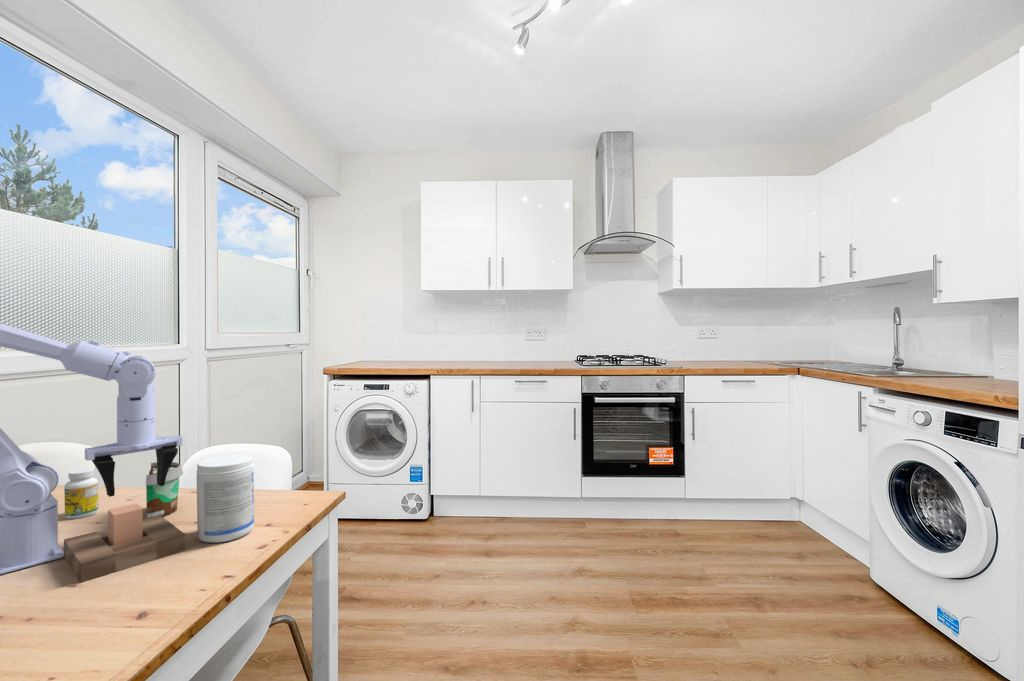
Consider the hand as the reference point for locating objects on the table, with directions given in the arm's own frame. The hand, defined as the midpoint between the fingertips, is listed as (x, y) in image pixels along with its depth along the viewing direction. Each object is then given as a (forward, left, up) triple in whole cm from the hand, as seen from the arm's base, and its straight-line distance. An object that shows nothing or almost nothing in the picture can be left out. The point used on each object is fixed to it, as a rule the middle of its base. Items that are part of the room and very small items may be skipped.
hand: (136, 489), depth 88 cm
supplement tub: (+11, +11, -10) cm, 19 cm away
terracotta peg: (+6, -3, -9) cm, 12 cm away
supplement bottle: (-24, -4, -10) cm, 26 cm away
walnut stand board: (+6, -3, -9) cm, 12 cm away
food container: (-12, +8, -10) cm, 17 cm away
